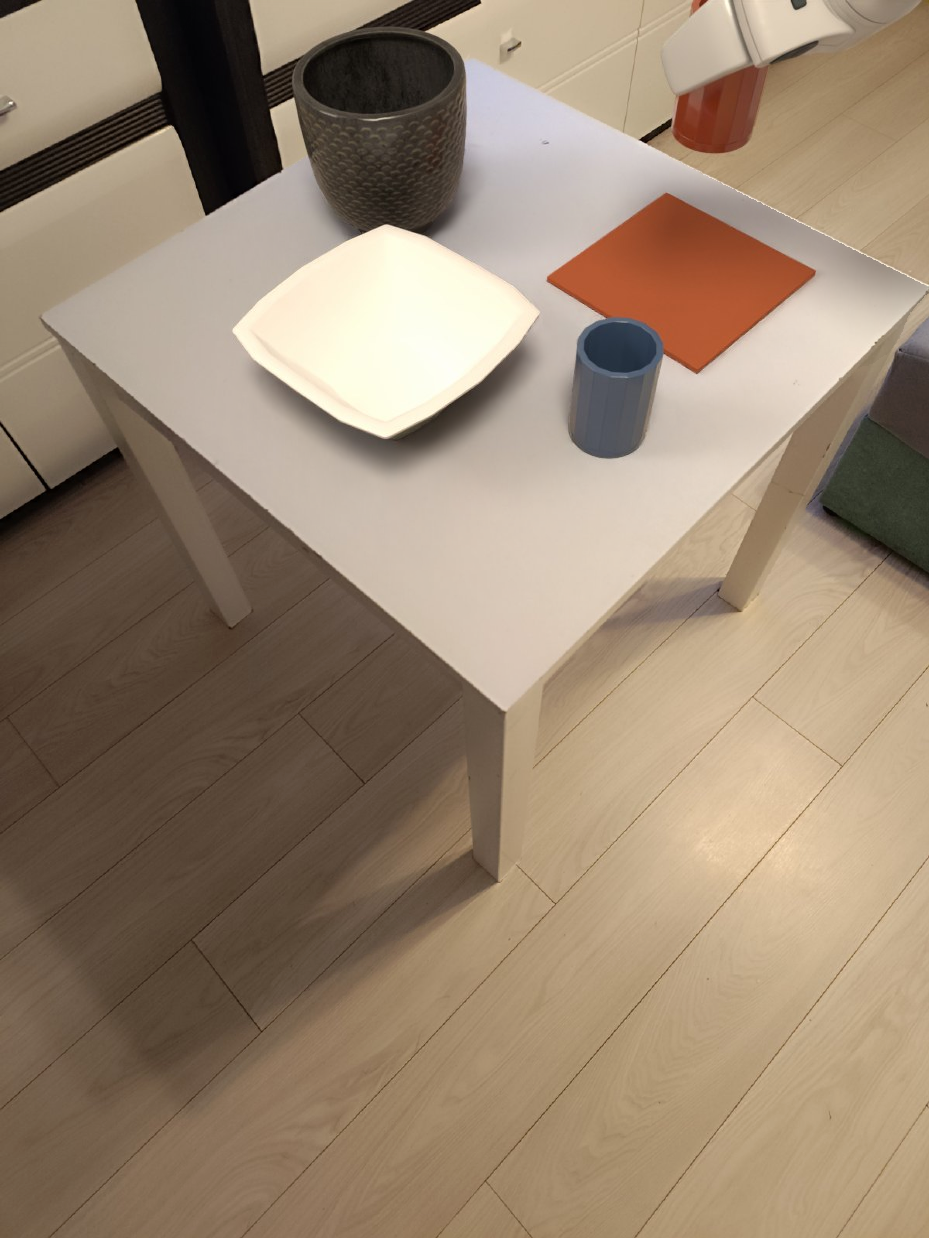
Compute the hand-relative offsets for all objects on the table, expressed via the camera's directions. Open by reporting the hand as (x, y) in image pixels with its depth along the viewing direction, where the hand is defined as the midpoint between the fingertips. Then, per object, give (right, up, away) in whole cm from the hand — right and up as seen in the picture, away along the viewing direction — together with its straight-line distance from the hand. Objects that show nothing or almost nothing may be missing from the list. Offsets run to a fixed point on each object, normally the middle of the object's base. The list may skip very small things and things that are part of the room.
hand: (719, 63), depth 73 cm
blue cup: (-8, -29, +8) cm, 32 cm away
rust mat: (+1, -11, +18) cm, 21 cm away
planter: (-30, -2, +25) cm, 39 cm away
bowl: (-28, -25, +11) cm, 39 cm away
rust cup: (+1, -3, +4) cm, 5 cm away
